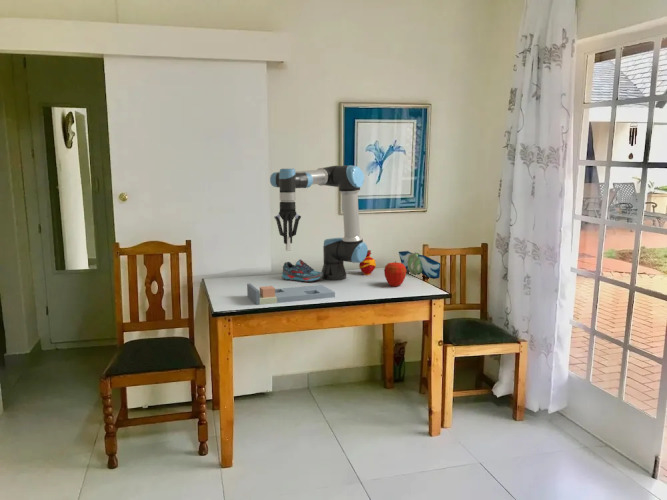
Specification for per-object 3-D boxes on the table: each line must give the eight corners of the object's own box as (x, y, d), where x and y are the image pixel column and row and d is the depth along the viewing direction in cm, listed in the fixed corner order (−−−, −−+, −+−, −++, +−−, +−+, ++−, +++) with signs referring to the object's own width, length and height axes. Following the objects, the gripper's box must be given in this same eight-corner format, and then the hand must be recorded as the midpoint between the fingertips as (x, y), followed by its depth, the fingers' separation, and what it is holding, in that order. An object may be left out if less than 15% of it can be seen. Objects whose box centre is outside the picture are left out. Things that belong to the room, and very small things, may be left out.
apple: (405, 289, 284) (405, 263, 282) (382, 288, 286) (383, 262, 284) (406, 284, 296) (407, 259, 294) (385, 283, 298) (385, 258, 296)
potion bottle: (361, 277, 314) (361, 252, 311) (357, 273, 324) (357, 249, 321) (378, 276, 316) (378, 251, 313) (373, 273, 326) (374, 249, 323)
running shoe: (320, 284, 296) (320, 262, 294) (278, 281, 303) (277, 260, 301) (326, 280, 305) (326, 259, 303) (285, 277, 313) (284, 257, 311)
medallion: (393, 269, 338) (393, 248, 336) (399, 268, 340) (400, 247, 338) (434, 283, 298) (435, 259, 296) (441, 282, 300) (442, 258, 298)
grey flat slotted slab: (321, 289, 283) (321, 277, 282) (334, 297, 266) (335, 284, 265) (247, 296, 267) (247, 283, 266) (256, 304, 251) (256, 291, 250)
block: (271, 293, 262) (271, 285, 261) (275, 296, 256) (275, 288, 256) (259, 295, 259) (259, 286, 259) (263, 297, 254) (262, 289, 253)
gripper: (297, 200, 259) (298, 248, 263) (272, 201, 254) (272, 249, 258) (303, 201, 253) (303, 250, 256) (276, 202, 248) (277, 252, 251)
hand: (288, 250), depth 257 cm, fingers closed
